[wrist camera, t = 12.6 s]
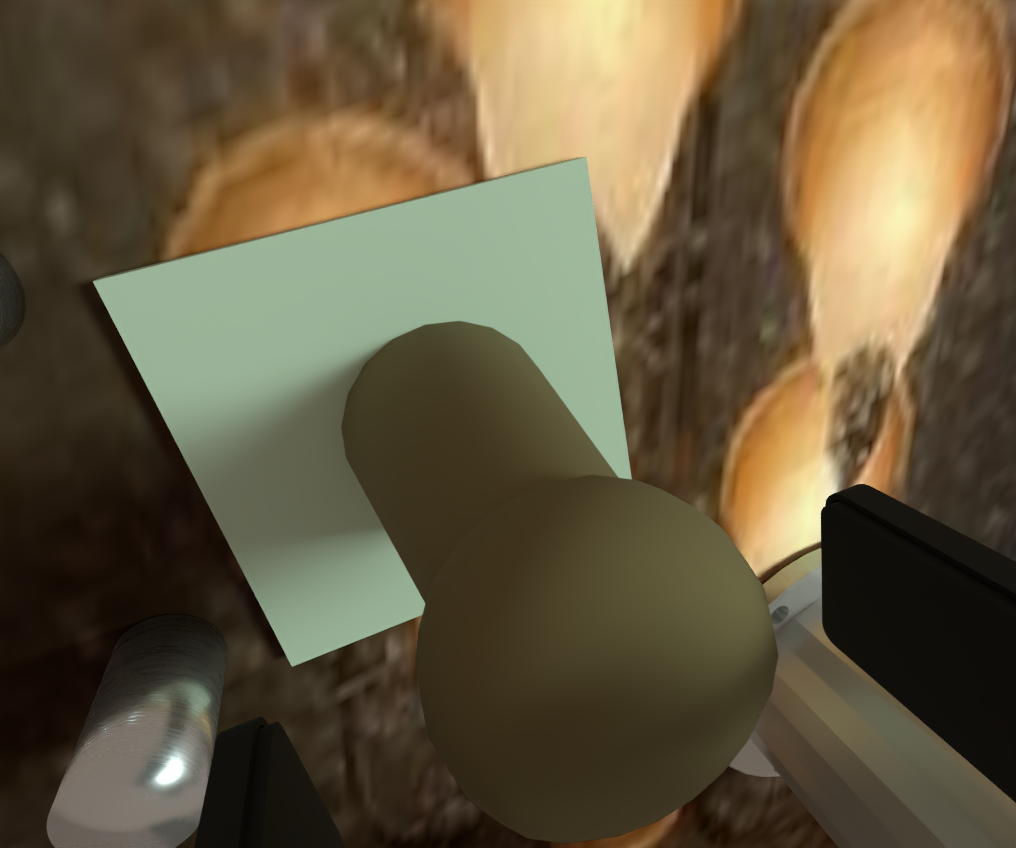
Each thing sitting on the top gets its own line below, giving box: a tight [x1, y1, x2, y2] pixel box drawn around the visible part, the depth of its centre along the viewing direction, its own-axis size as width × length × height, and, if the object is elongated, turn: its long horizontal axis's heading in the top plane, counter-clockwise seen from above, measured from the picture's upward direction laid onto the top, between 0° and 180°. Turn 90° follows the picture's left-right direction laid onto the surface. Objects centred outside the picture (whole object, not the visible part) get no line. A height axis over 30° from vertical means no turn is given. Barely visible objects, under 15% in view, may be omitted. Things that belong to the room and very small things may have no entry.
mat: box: [93, 157, 631, 666], centre depth 17 cm, size 12×12×1 cm
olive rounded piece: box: [341, 321, 778, 844], centre depth 12 cm, size 6×6×11 cm
